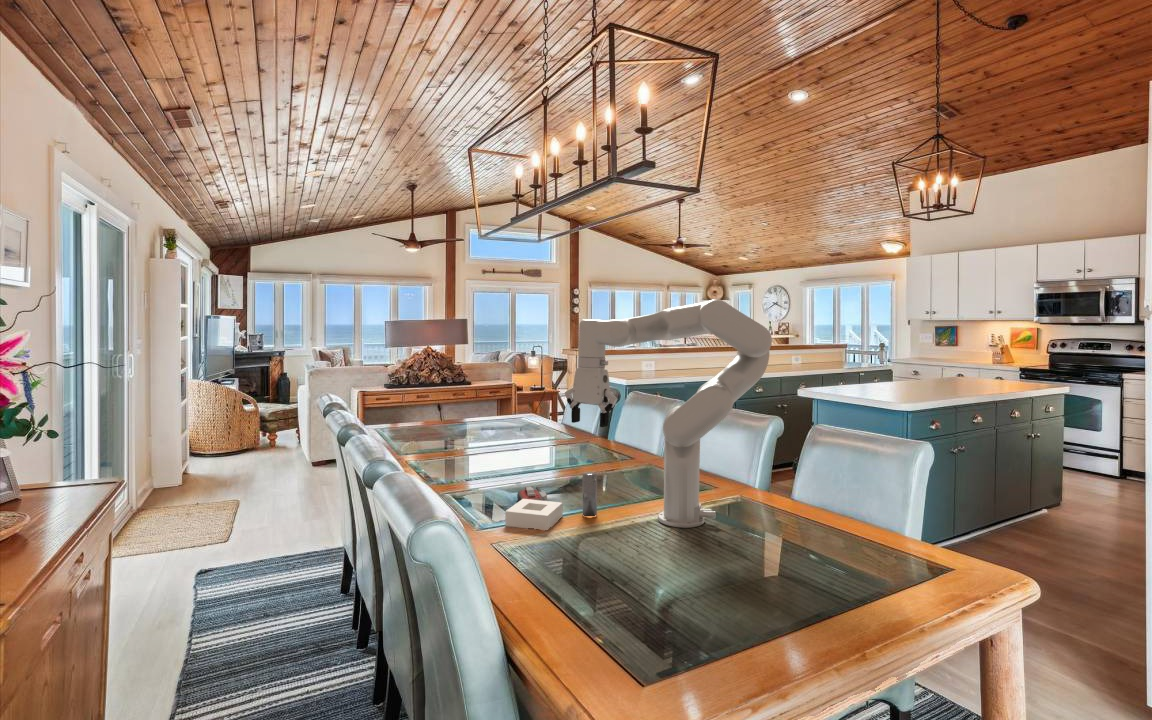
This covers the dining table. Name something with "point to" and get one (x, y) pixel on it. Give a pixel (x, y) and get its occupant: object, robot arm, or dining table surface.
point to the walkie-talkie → (532, 494)
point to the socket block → (534, 514)
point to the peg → (589, 494)
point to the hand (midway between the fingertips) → (589, 424)
